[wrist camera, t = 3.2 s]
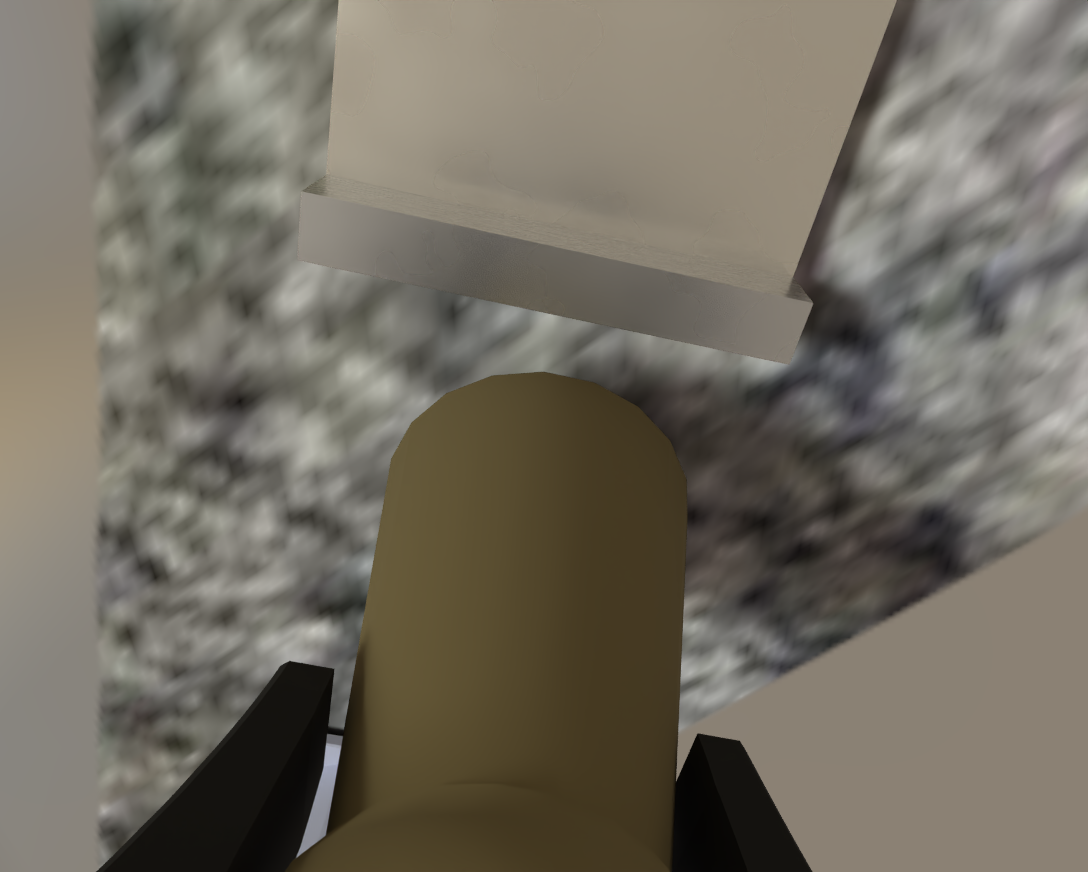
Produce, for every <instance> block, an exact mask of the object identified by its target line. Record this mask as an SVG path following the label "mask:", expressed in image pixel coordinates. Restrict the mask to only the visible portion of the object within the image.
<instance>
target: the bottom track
mask: <svg viewBox="0 0 1088 872" xmlns="http://www.w3.org/2000/svg"><path fill="white" fill-rule="evenodd" d="M896 1H897V0H339V5H338V19H337V33H336V47H335V61H334V75H333V89H332V103H331V117H330V131H329V145H328V159H327V173H326V175H325V176H323V177H322V178H320V179H319V180H317V181H316V182H314V183H313V184H311V185H310V186H309V187H307V188H306V189H304V190H303V191H301V207H300V224H299V242H298V259H297V260H299V261H304V262H309V263H314V264H318V265H323V266H328V267H332V268H337V269H342V270H347V271H351V272H356V273H361V274H365V275H370V276H375V277H379V278H384V279H389V280H394V281H398V282H403V283H408V284H412V285H417V286H422V287H427V288H431V289H436V290H441V291H445V292H450V293H455V294H459V295H464V296H469V297H474V298H478V299H483V300H488V301H492V302H497V303H502V304H506V305H511V306H516V307H521V308H525V309H530V310H535V311H539V312H544V313H549V314H554V315H558V316H563V317H568V318H572V319H577V320H582V321H586V322H591V323H596V324H601V325H605V326H610V327H615V328H619V329H624V330H629V331H633V332H638V333H643V334H648V335H652V336H657V337H662V338H666V339H671V340H676V341H681V342H685V343H690V344H695V345H699V346H704V347H709V348H713V349H718V350H723V351H728V352H732V353H737V354H742V355H746V356H751V357H756V358H761V359H765V360H770V361H775V362H779V363H784V364H790V361H791V359H792V356H793V354H794V351H795V349H796V346H797V344H798V341H799V339H800V336H801V334H802V331H803V329H804V326H805V324H806V321H807V318H808V316H809V313H810V311H811V308H812V306H813V302H812V301H811V299H810V298H809V297H808V296H807V294H806V293H805V292H804V291H803V289H802V288H801V287H800V286H799V284H798V283H797V282H796V281H795V279H794V278H793V276H794V273H795V270H796V268H797V265H798V262H799V260H800V257H801V254H802V252H803V249H804V246H805V244H806V241H807V238H808V236H809V233H810V230H811V228H812V225H813V222H814V220H815V217H816V214H817V212H818V209H819V206H820V204H821V201H822V198H823V196H824V193H825V190H826V188H827V185H828V182H829V180H830V177H831V174H832V172H833V169H834V166H835V164H836V161H837V158H838V156H839V153H840V150H841V148H842V145H843V143H844V140H845V137H846V135H847V132H848V129H849V127H850V124H851V121H852V119H853V116H854V113H855V111H856V108H857V105H858V103H859V100H860V97H861V95H862V92H863V89H864V87H865V84H866V81H867V79H868V76H869V73H870V71H871V68H872V65H873V63H874V60H875V57H876V55H877V52H878V49H879V47H880V44H881V41H882V39H883V36H884V33H885V31H886V28H887V25H888V23H889V20H890V17H891V15H892V12H893V9H894V7H895V4H896Z"/></svg>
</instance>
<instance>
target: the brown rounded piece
mask: <svg viewBox="0 0 1088 872" xmlns="http://www.w3.org/2000/svg"><path fill="white" fill-rule="evenodd" d="M686 540H687V479H686V477H685V475H684V472H683V470H682V468H681V465H680V463H679V461H678V458H677V456H676V453H675V451H674V449H673V446H672V444H671V442H670V440H669V439H668V438H667V437H666V436H665V435H664V434H663V433H662V431H661V430H660V429H659V428H658V427H657V426H656V425H655V424H654V423H653V422H652V421H651V420H650V419H649V418H648V416H647V415H646V414H645V413H644V412H643V411H642V410H641V409H640V408H639V407H638V406H636V405H634V404H632V403H631V402H629V401H627V400H625V399H623V398H622V397H620V396H618V395H616V394H614V393H612V392H611V391H609V390H607V389H605V388H603V387H602V386H600V385H598V384H596V383H594V382H589V381H584V380H580V379H575V378H570V377H566V376H561V375H556V374H552V373H547V372H534V373H521V374H508V375H494V376H490V377H487V378H485V379H482V380H480V381H477V382H474V383H472V384H469V385H467V386H464V387H462V388H459V389H457V390H454V391H451V392H449V393H446V394H445V395H444V396H443V397H442V398H440V399H439V400H438V401H437V402H436V403H434V404H433V405H432V406H431V407H430V408H428V409H427V410H426V411H425V412H424V413H422V414H421V415H420V416H419V417H418V418H416V419H415V420H414V421H413V422H412V423H411V425H410V426H409V428H408V430H407V432H406V434H405V435H404V437H403V439H402V441H401V442H400V444H399V446H398V448H397V450H396V451H395V453H394V455H393V457H392V458H391V464H390V469H389V475H388V481H387V487H386V492H385V498H384V504H383V510H382V515H381V521H380V527H379V532H378V538H377V544H376V550H375V555H374V561H373V567H372V573H371V578H370V584H369V590H368V595H367V601H366V607H365V613H364V618H363V624H362V630H361V636H360V641H359V647H358V653H357V659H356V664H355V670H354V676H353V681H352V687H351V693H350V699H349V704H348V710H347V716H346V722H345V727H344V733H343V739H342V744H341V750H340V756H339V762H338V767H337V773H336V779H335V785H334V790H333V796H332V802H331V807H330V813H329V819H328V825H327V830H326V836H324V837H323V838H322V839H320V840H319V841H318V842H316V843H315V844H314V845H312V846H311V847H310V848H308V849H307V850H306V851H305V852H303V853H302V854H301V855H299V856H298V857H297V858H295V859H294V860H293V861H292V862H291V863H290V865H289V866H288V868H287V869H286V870H285V872H672V860H673V837H674V815H675V792H676V769H677V746H678V723H679V700H680V677H681V654H682V631H683V608H684V586H685V563H686Z"/></svg>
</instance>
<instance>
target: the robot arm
mask: <svg viewBox="0 0 1088 872" xmlns="http://www.w3.org/2000/svg"><path fill="white" fill-rule="evenodd" d="M333 677H334V669H332V668H326V667H320V666H315V665H309V664H303V663H298V662H292V661H289V662H287V663H285V664H283V665H281V666H280V667H279V669H278V670H277V672H276V673H275V674H274V676H273V677H272V679H271V680H270V681H269V683H268V684H267V685H266V687H265V688H264V689H263V691H262V692H261V693H260V695H259V696H258V697H257V699H256V700H255V701H254V702H253V704H252V705H251V706H250V707H249V709H248V710H247V711H246V712H245V714H244V715H243V716H242V717H241V719H240V720H239V721H238V722H237V723H236V724H235V726H234V727H233V728H232V729H231V730H230V732H229V733H228V734H227V735H226V736H225V738H224V739H223V740H222V741H221V742H220V743H219V745H218V746H217V747H216V748H215V749H214V750H213V751H212V752H211V754H210V755H209V756H208V757H207V758H206V759H205V760H204V761H203V762H202V764H201V765H200V766H199V767H198V768H197V769H196V770H195V771H194V772H193V774H192V775H191V776H190V777H189V778H188V779H187V780H186V781H185V782H184V783H183V785H182V786H181V787H180V788H179V789H178V790H177V791H176V792H175V793H174V794H173V795H172V797H171V798H170V799H169V800H168V801H167V802H166V803H165V804H164V805H163V806H162V807H161V808H160V809H159V810H158V811H157V812H156V813H155V814H154V815H153V816H152V817H151V818H150V819H149V820H148V821H147V822H146V823H145V824H144V825H143V826H142V827H141V828H140V829H139V830H138V831H137V832H136V833H135V834H134V835H133V836H132V837H131V838H130V839H129V840H128V841H127V842H126V843H125V844H124V845H123V846H122V847H121V848H120V849H119V850H118V851H117V852H116V853H115V854H114V855H113V856H112V857H111V858H110V859H109V860H108V861H107V862H106V863H105V864H104V865H103V866H102V867H101V868H100V869H99V870H98V871H97V872H285V870H286V869H287V868H288V866H289V865H290V863H291V862H292V861H293V860H294V859H295V858H297V857H298V856H299V855H301V854H302V853H303V852H305V851H306V850H307V849H308V848H310V847H311V846H312V845H314V844H315V843H316V842H318V841H319V840H320V839H322V838H323V837H324V836H326V830H327V825H328V819H329V813H330V807H331V802H332V796H333V790H334V785H335V779H336V773H337V767H338V762H339V756H340V750H341V744H342V739H343V736H338V735H332V734H327V732H328V723H329V714H330V705H331V695H332V686H333ZM672 872H812V870H811V869H810V867H809V865H808V863H807V862H806V860H805V858H804V856H803V854H802V853H801V851H800V850H799V847H798V846H797V844H796V842H795V841H794V839H793V837H792V835H791V833H790V831H789V830H788V828H787V826H786V824H785V822H784V821H783V819H782V817H781V815H780V813H779V812H778V810H777V808H776V806H775V804H774V802H773V800H772V799H771V797H770V795H769V793H768V791H767V789H766V787H765V786H764V784H763V782H762V780H761V778H760V776H759V774H758V773H757V771H756V769H755V767H754V765H753V764H752V761H751V759H750V758H749V756H748V754H747V752H746V750H745V748H744V747H743V745H742V744H741V742H740V741H737V740H732V739H726V738H720V737H715V736H709V735H703V734H697V736H696V738H695V740H694V743H693V745H692V747H691V749H690V752H689V754H688V757H687V759H686V761H685V763H684V765H683V768H682V770H681V772H680V775H679V777H678V779H677V781H676V792H675V815H674V837H673V860H672Z"/></svg>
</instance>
